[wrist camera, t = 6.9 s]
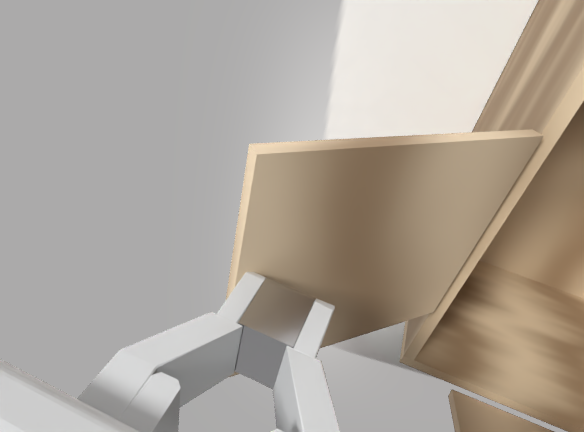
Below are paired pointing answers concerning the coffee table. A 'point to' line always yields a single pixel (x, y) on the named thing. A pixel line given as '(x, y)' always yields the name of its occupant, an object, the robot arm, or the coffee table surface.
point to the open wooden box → (524, 244)
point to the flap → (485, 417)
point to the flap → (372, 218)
